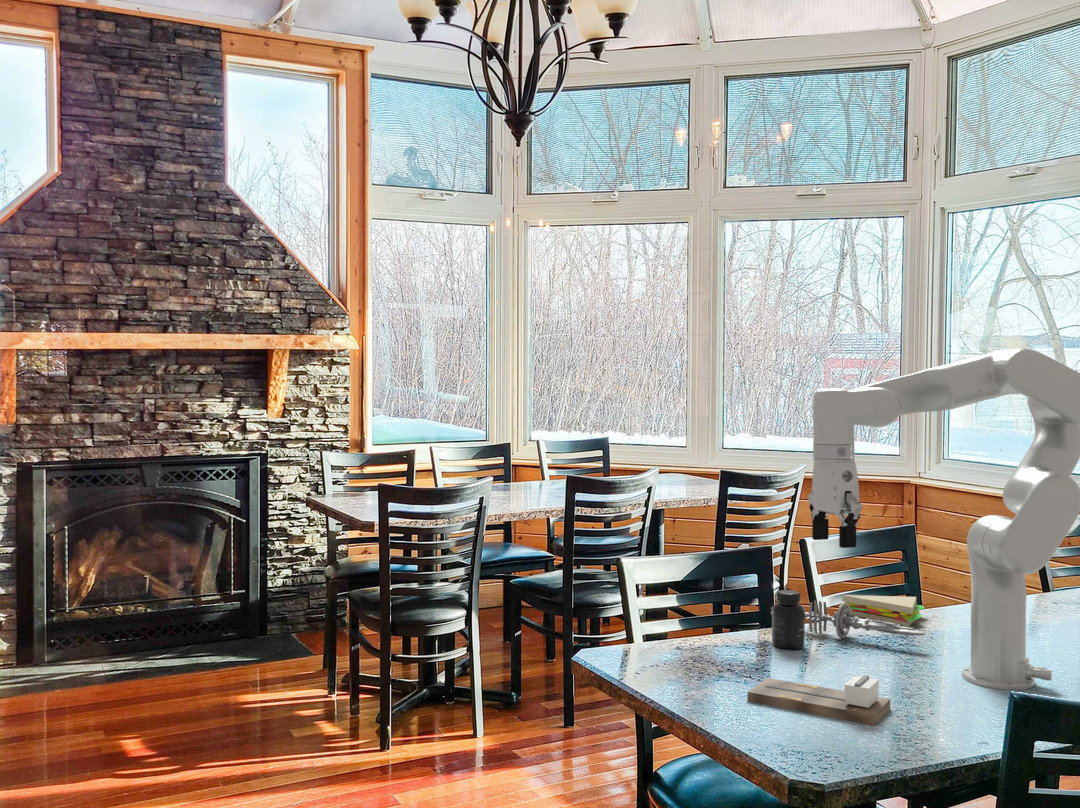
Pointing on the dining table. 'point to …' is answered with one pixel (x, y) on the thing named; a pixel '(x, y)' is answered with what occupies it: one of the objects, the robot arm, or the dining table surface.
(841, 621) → the spaceship
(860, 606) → the sandwich
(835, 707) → the fader track
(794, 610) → the supplement bottle
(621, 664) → the dining table surface
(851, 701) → the fader knob
